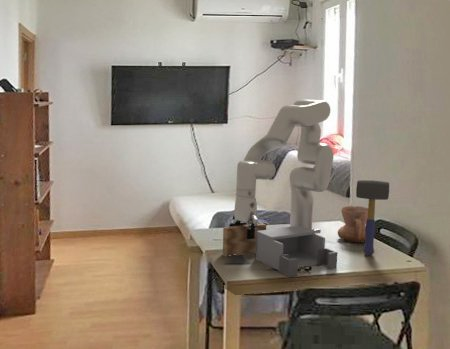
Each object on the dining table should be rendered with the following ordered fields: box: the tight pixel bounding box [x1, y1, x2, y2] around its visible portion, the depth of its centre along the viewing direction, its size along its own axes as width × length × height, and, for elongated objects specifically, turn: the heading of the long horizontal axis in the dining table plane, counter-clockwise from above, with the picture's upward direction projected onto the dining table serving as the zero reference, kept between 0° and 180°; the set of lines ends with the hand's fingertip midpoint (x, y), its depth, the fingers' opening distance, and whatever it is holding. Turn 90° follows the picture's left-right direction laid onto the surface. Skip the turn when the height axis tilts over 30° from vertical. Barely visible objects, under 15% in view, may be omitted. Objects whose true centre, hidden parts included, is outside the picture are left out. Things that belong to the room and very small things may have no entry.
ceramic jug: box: [337, 205, 368, 243], centre depth 244 cm, size 18×14×14 cm
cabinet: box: [255, 226, 338, 278], centre depth 210 cm, size 22×22×11 cm
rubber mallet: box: [355, 179, 390, 256], centre depth 221 cm, size 12×8×30 cm, turn 75°
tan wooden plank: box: [222, 222, 267, 257], centre depth 222 cm, size 18×4×11 cm, turn 120°
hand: (243, 235), depth 222 cm, fingers open, 9 cm apart
